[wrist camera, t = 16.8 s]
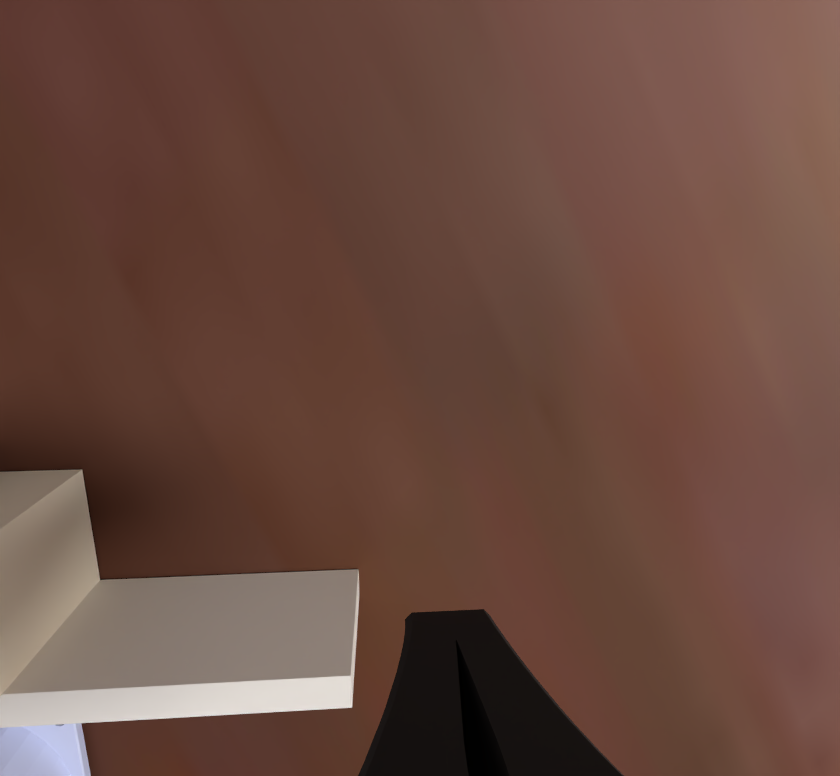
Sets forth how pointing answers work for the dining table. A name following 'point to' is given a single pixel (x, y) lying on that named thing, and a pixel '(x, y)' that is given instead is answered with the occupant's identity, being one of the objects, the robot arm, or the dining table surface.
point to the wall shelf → (154, 626)
